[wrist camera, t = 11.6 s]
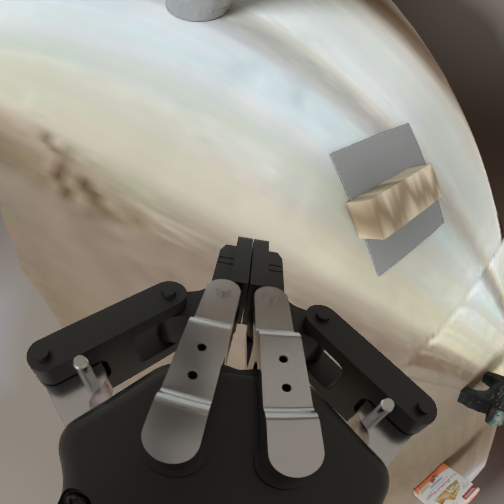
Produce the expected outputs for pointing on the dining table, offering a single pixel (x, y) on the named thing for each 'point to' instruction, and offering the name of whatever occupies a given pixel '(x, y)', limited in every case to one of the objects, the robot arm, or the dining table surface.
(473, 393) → the green animal figurine
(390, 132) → the slate rubber mat
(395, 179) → the birch block
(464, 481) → the cracker box
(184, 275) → the dining table surface
